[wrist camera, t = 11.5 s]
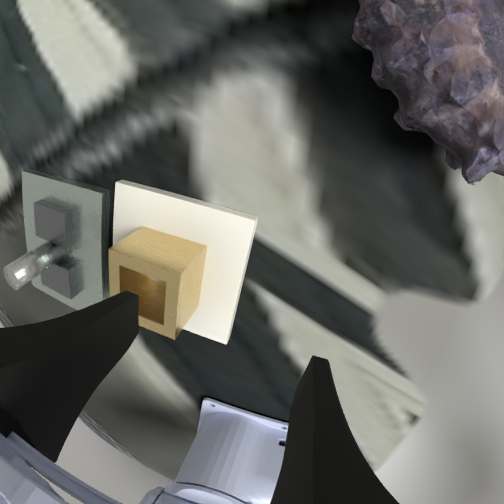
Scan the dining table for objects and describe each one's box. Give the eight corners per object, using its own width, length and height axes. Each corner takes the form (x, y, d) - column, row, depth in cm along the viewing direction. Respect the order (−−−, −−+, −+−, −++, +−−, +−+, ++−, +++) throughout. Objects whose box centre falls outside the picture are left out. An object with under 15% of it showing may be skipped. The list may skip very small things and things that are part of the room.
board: (258, 216, 20) (255, 220, 19) (229, 338, 24) (226, 344, 23) (122, 179, 21) (115, 182, 20) (118, 295, 25) (113, 300, 25)
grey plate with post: (110, 190, 21) (43, 220, 15) (110, 317, 27) (66, 363, 21) (30, 168, 23) (-30, 189, 17) (38, 281, 28) (-6, 313, 22)
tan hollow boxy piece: (207, 245, 20) (180, 274, 17) (198, 305, 23) (174, 339, 19) (143, 226, 21) (108, 249, 17) (140, 284, 23) (111, 313, 20)
